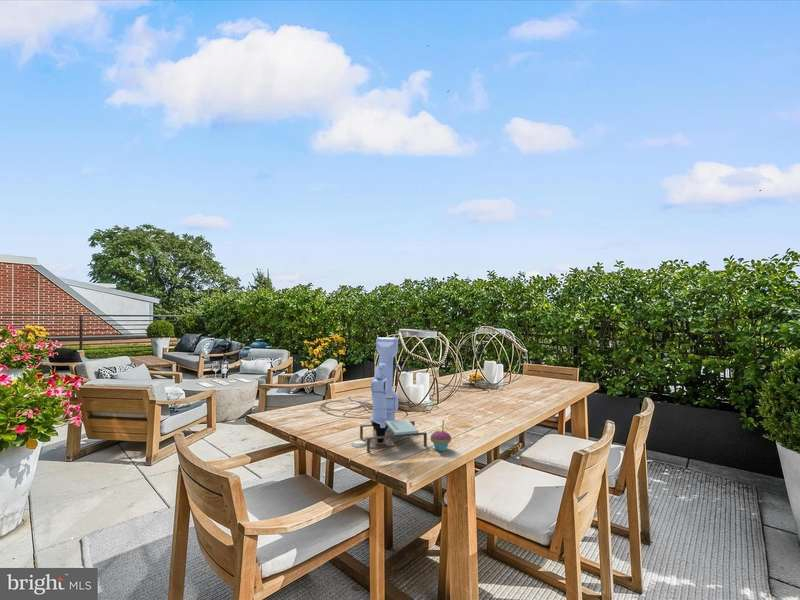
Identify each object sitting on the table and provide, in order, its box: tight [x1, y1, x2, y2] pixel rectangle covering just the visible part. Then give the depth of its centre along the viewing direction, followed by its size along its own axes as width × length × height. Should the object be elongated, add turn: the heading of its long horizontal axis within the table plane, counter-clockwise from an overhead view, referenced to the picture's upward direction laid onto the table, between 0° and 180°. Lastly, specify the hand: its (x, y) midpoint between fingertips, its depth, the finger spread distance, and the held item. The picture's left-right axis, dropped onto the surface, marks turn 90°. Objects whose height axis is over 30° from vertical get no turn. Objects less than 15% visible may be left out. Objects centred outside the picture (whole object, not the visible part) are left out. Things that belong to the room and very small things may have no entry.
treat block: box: [372, 429, 387, 445], centre depth 164 cm, size 4×4×5 cm
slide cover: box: [386, 418, 420, 435], centre depth 166 cm, size 17×10×1 cm, turn 15°
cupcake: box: [430, 418, 452, 452], centre depth 159 cm, size 9×8×12 cm
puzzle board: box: [350, 420, 428, 452], centre depth 165 cm, size 18×30×6 cm, turn 105°
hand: (379, 440), depth 164 cm, fingers closed on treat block, 4 cm apart
